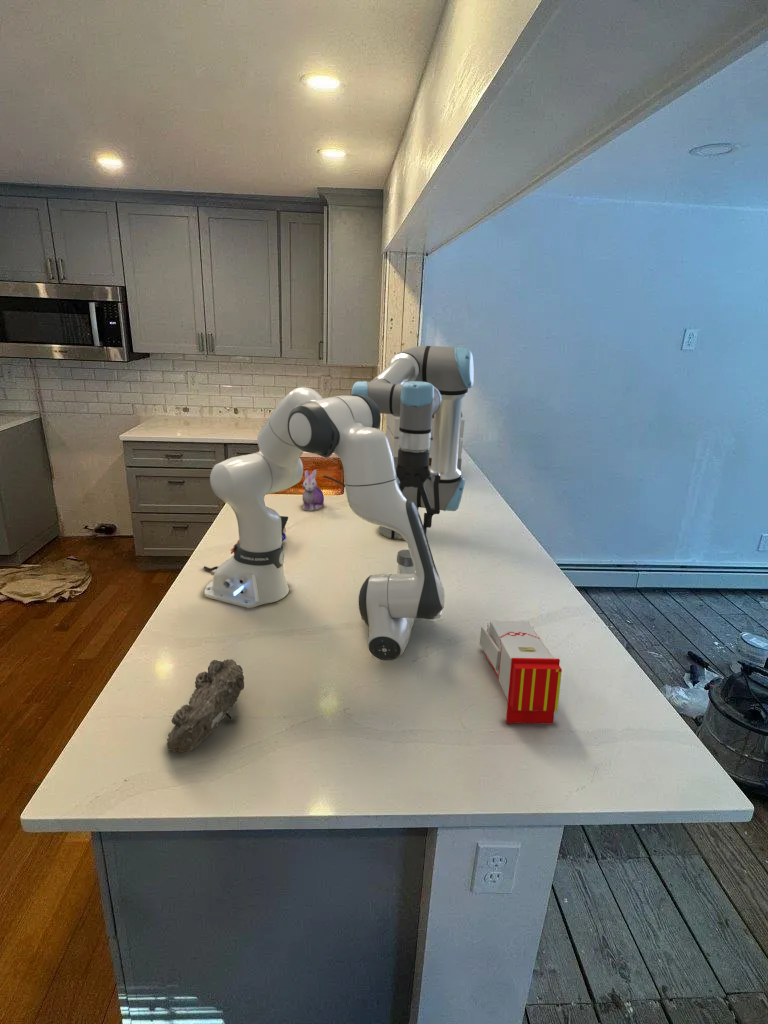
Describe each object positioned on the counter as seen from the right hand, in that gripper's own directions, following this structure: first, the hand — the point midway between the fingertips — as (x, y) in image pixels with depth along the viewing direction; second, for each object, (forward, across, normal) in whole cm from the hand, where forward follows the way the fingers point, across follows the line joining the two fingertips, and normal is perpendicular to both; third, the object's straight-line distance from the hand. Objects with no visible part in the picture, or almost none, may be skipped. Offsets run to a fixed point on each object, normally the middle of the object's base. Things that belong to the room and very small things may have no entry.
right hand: (408, 537), depth 142 cm
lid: (+5, 0, 0) cm, 5 cm away
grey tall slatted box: (+21, -5, -134) cm, 136 cm away
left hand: (+14, 0, -1) cm, 14 cm away
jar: (+21, 0, 0) cm, 21 cm away
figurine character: (+21, +43, -39) cm, 61 cm away
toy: (+21, -24, +27) cm, 42 cm away
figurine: (+21, +37, -76) cm, 87 cm away
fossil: (+21, +36, +45) cm, 61 cm away
